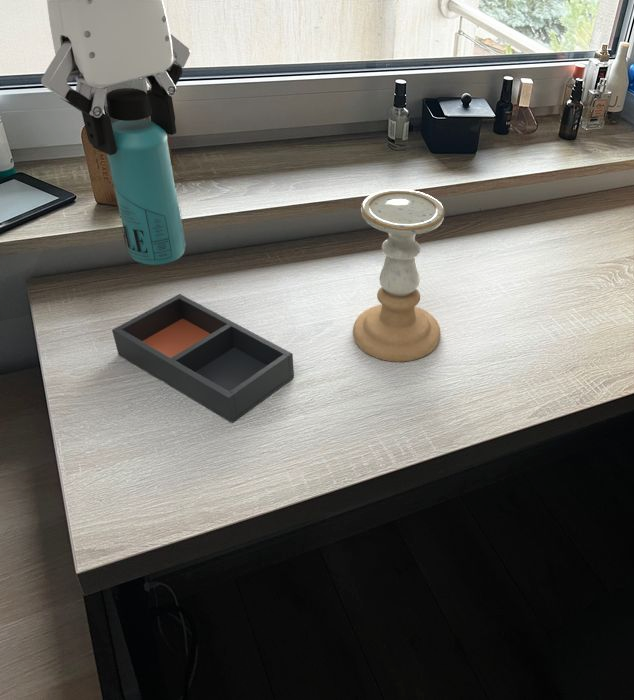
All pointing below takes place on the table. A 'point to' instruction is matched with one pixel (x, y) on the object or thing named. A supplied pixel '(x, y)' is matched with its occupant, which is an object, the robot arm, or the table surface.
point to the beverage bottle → (144, 181)
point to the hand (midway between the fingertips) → (135, 139)
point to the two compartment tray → (205, 356)
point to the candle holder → (399, 278)
